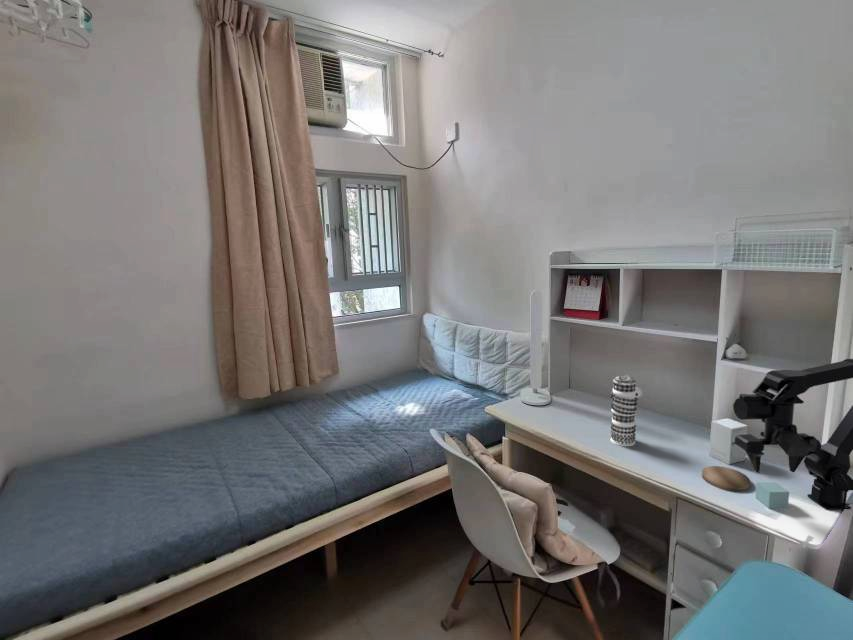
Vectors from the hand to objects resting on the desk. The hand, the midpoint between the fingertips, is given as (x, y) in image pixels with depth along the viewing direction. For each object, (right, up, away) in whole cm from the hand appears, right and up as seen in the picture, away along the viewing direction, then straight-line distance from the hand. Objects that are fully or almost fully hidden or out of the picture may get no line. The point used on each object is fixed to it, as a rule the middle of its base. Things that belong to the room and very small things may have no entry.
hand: (774, 471), depth 116 cm
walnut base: (-4, -8, +14) cm, 16 cm away
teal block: (0, -9, +1) cm, 10 cm away
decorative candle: (-22, -4, +43) cm, 48 cm away
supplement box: (+6, -5, +27) cm, 28 cm away
